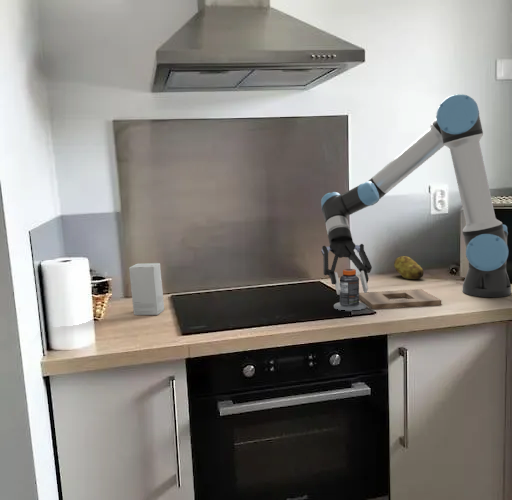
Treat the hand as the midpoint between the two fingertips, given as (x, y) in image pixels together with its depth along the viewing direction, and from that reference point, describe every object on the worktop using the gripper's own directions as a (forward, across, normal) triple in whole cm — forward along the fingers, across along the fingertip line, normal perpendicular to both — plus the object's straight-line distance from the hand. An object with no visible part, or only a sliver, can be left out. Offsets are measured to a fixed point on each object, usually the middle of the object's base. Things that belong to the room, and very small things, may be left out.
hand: (352, 291), depth 173 cm
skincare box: (-4, +63, -12) cm, 64 cm away
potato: (-25, -33, -34) cm, 53 cm away
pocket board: (-1, -17, -9) cm, 19 cm away
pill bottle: (+1, 0, -6) cm, 6 cm away
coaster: (+2, 0, -6) cm, 7 cm away
